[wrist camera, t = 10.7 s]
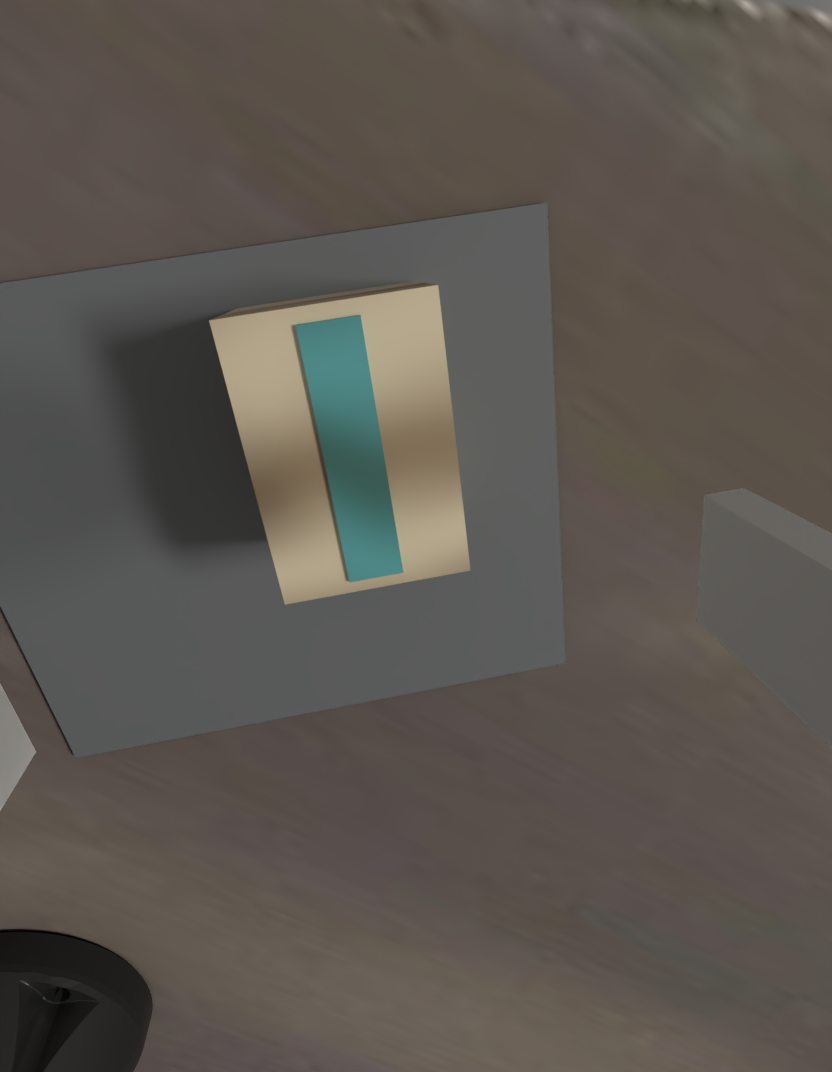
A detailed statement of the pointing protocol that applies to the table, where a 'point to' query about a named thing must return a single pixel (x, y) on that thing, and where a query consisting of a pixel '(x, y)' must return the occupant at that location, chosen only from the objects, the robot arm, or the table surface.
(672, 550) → the table surface
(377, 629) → the rubber mat
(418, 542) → the maple block
